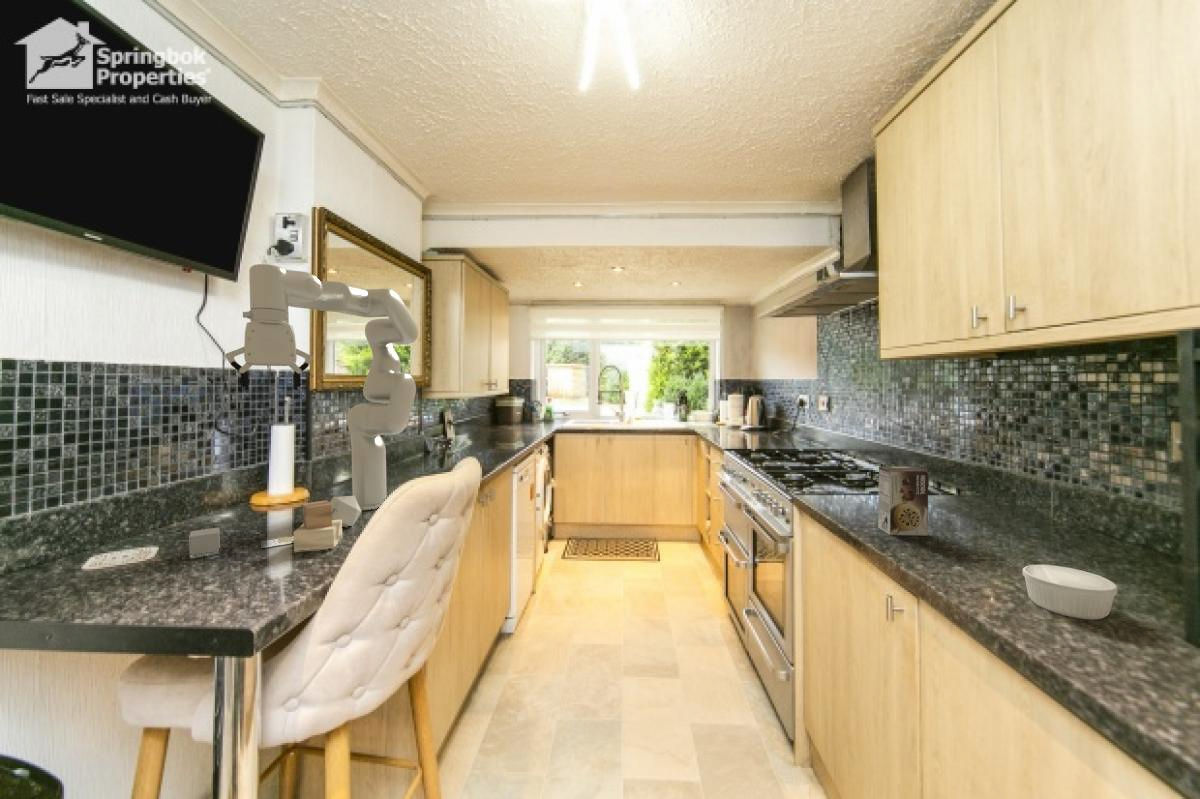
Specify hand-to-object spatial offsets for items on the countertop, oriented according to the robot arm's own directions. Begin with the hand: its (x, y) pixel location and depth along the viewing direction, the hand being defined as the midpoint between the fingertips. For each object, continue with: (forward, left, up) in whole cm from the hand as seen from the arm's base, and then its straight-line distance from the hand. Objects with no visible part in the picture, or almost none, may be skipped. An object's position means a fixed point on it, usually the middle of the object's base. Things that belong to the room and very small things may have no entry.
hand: (271, 390), depth 115 cm
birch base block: (+11, +8, -37) cm, 39 cm away
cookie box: (+87, +128, -36) cm, 159 cm away
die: (-3, +15, -36) cm, 40 cm away
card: (+3, +1, -36) cm, 36 cm away
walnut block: (+11, +8, -32) cm, 34 cm away
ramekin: (+121, +106, -37) cm, 165 cm away
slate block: (+2, -13, -36) cm, 39 cm away
